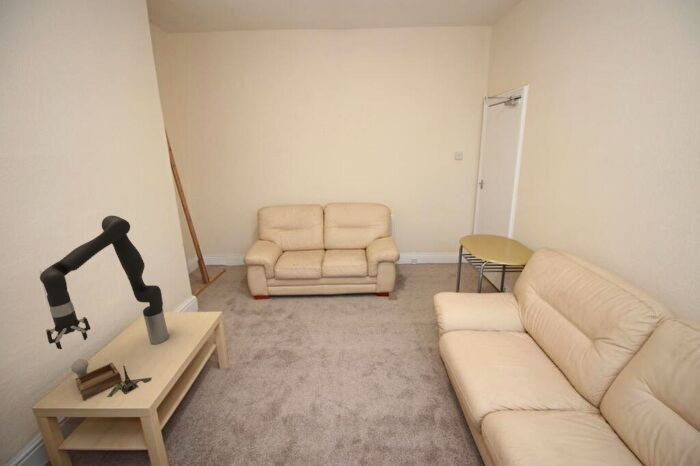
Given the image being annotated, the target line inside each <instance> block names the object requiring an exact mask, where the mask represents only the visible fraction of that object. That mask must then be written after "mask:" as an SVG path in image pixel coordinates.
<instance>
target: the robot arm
mask: <svg viewBox="0 0 700 466" xmlns="http://www.w3.org/2000/svg"><path fill="white" fill-rule="evenodd" d="M101 229H102V233H100V234H99V235H98V236H96V237H95V238H93V239H91V240H89V241H87V242H85V243H83V244H81V245H79V246H77V247H76V248H74V249H73V250H71V251H70V252H69V253H68V254H66V255H65V256H63V258H62V259H60V260H59V261H57V262H55V263H53V264H51V265H50V266H48V267H47V268H45V269H44V270H43V271H42V273H40V274H39V280H40V282H41V283H42V284H43V287H44V289H45V292H46V299H47V302H48V306H49V311H50V315H51V318H52V322H53V323H54V328H49V329H46V330H45V333H46V337H47V340H48V344H50V345H51V344H55V347H56V349H57V350H62V349H63V347H62V344H61V342H60V340H61V339H62V338H63V336H64V335H68V334H70V333H74V332H75V331H78V332H80V333H81V336H82V338H83V339H82V340H84V341H86V340H87V339H88V332H87V331H90V330H91V326H90V323H89V321H88V318H87V317H86V316H83V317H82V318H80V319H78V317H77V314H76V311H75V306H74V304H73V302H72V299H71V296H70V294H69V291H68V284H67V279H66V277H65V276H67V275H68V274H69V273H71V272H74V271H76V270H78V269H80V268H81V267H82V266H83V265H85V263H87V262H88V261H89V260H91V259H92V258H94V256H96V255H97V254H98V253H100V252H101V251H102V250H104V249H105V248H107V247H108V246H111V245H112V246H113V248H114V252H115V254H116V256H117V258H118V261H119V263H120V265H121V268H122V269H123V271H124V272H125V274H126V277H127V279H128V281H129V285H130V286H131V289H132V292H133V296H134V297H135V299H136V301H137V302H138V303H146V304H147V303H149V305H148V306H146V307H145V308H144V309H143V310H142V314H143V317H144V322H145V326H146V330H147V335H148V340H149V343H150V344H151V345H158V344H162V343H164V342H165V341H167V340H168V339H169V333H168V332H169V331H168V327H167V323H166V318H165V313H164V308H163V307H164V302H163V296H162V295H163V294H162V289H161V288H160V286H159V285H147V284H145V282H144V280H143V273H144V270H145V262H144V259H143V257H142V255H141V253H140V252H139V250H138V249H137V247H136V246H135V245H134V244H133V242H132V241H131V240H130V238H129V236H128V233H129V232H130V230H131V224H130V222H129V221H128V220H126V219H124V218H123V217H120V216H118V215H107V216H105V217H104V218H103V219H102V221H101ZM81 323H82V324H84V326H85V327H81V326H80V324H81ZM54 332H56V333H57V334H56V336H55V338H53V334H54Z"/></svg>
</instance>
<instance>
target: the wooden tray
mask: <svg viewBox="0 0 700 466" xmlns="http://www.w3.org/2000/svg"><path fill="white" fill-rule="evenodd" d="M121 382H123V381H122V376H121V374H120V372H119V369H118V368H117V367H116V365H115V364H114V363H113V362H110V363H108V364H105V365H103V366H101V367H98V368H96V369H94V370H91V371H89V372H87V374H85V375H82V376H80V377H78V376H77V377H75V383H76V386H77V389H78V391H79V392H80V395H81V397H82V399H83V401H86V400H88V399H90V398H92V397H94V396H96V395H98V394H100V393H102V392H104V391H106V390H108V389H110V388H114V387H115V386H116V385H118V384H119V383H121Z"/></svg>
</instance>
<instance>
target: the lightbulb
mask: <svg viewBox="0 0 700 466" xmlns="http://www.w3.org/2000/svg"><path fill="white" fill-rule="evenodd" d="M88 367H89V361H88V360H87V359H85V358H79V359H76V360H75V361H74V362H73V363H72V364H71V367H70V369H71V372H73V373H74V374H76V375H77V378H78V377H80V376H82V375H85V374H87V373H88Z"/></svg>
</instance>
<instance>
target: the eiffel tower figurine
mask: <svg viewBox="0 0 700 466" xmlns="http://www.w3.org/2000/svg"><path fill="white" fill-rule="evenodd" d="M122 364H123V366H122V368H123V372H124V380H123V381H122V382H121V383H119V384H117V385H115V386H113V387H112V388H113V389H111V391H110V392H109V393H108V395H107V396H106V398H112V397H113V396H114V395H115V394H116V393H117V392H120V391H121V392H122V393H123V394H124V395H128V394H129V393H131V392H132V391H134V390H136V389H138V388H140V386H139V385H138V384H139V382H142V383H144V384H145V383H150V382H151V381H152V379H153V377H144V378H135V379H131V378H130V377H129V375H128V372H127V370H126V366H125V365H124V363H122Z"/></svg>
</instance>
